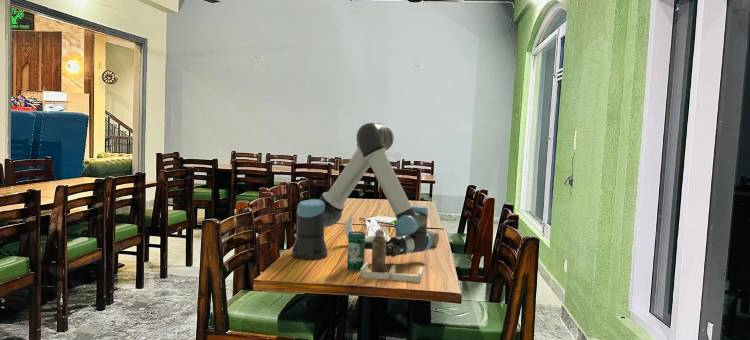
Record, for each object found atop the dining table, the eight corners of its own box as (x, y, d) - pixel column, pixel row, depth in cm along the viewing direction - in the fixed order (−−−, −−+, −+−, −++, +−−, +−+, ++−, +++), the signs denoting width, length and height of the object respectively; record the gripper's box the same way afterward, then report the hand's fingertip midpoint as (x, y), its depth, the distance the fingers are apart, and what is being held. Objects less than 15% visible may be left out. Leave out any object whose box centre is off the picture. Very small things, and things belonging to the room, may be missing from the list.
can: (345, 272, 210) (346, 233, 209) (351, 268, 216) (352, 230, 215) (359, 274, 208) (361, 234, 207) (365, 270, 214) (367, 232, 213)
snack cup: (420, 240, 281) (421, 220, 281) (416, 243, 271) (417, 223, 271) (391, 237, 286) (392, 217, 285) (386, 240, 276) (386, 220, 275)
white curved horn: (383, 247, 260) (385, 216, 260) (343, 245, 260) (344, 214, 259) (383, 244, 265) (384, 214, 264) (343, 243, 264) (344, 213, 264)
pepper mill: (370, 276, 202) (372, 230, 201) (372, 272, 207) (374, 227, 206) (383, 277, 201) (385, 231, 200) (385, 273, 206) (387, 228, 205)
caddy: (360, 279, 200) (360, 268, 200) (364, 273, 210) (365, 262, 210) (420, 284, 197) (421, 273, 197) (422, 277, 207) (423, 267, 206)
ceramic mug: (434, 248, 262) (435, 232, 262) (418, 246, 265) (418, 230, 265) (441, 245, 272) (442, 229, 271) (425, 243, 275) (426, 227, 275)
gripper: (422, 260, 217) (382, 267, 203) (380, 248, 236) (340, 254, 222) (423, 241, 217) (383, 247, 203) (380, 231, 235) (341, 236, 221)
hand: (360, 251), depth 212 cm, fingers open, 13 cm apart
